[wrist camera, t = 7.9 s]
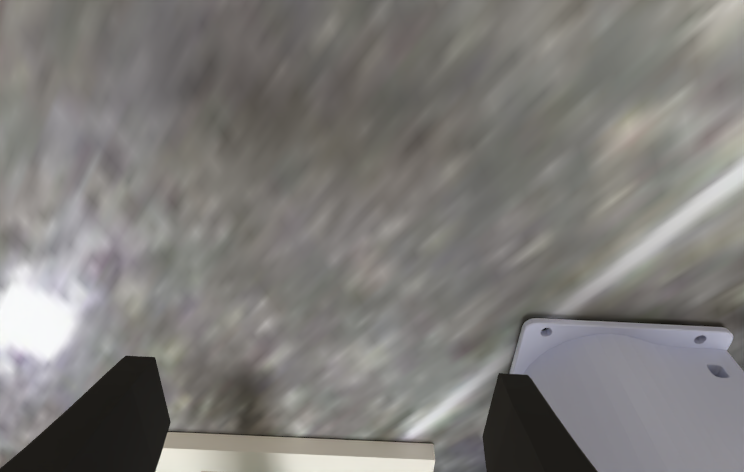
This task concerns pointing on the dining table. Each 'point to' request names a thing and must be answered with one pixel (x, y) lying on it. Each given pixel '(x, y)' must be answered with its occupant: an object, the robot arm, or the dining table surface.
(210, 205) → the dining table surface
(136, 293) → the dining table surface
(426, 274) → the dining table surface
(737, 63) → the dining table surface
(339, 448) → the stand
